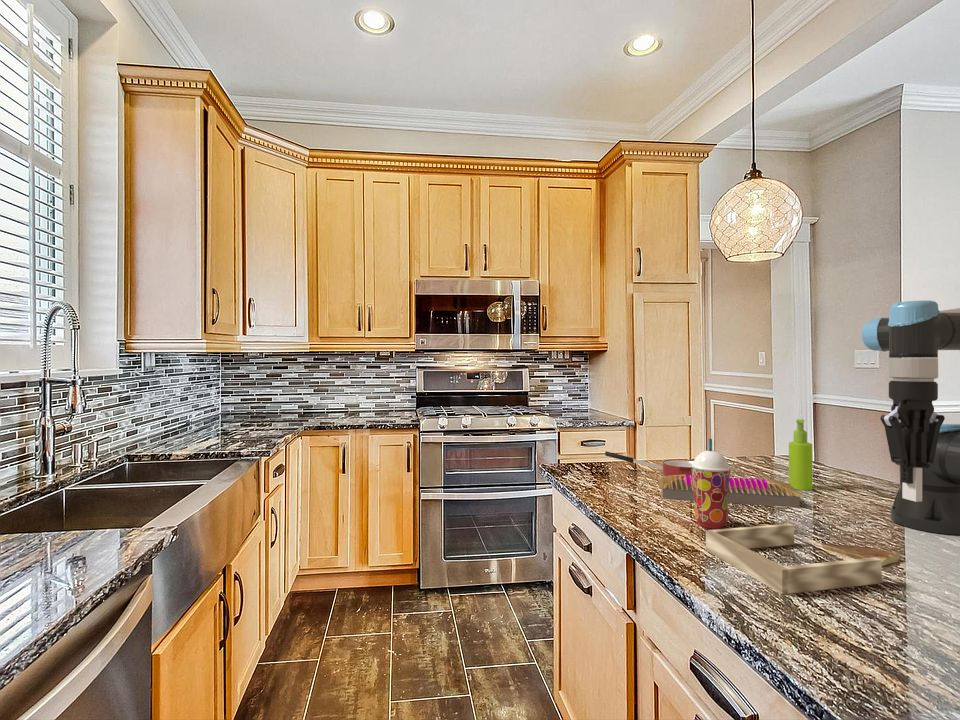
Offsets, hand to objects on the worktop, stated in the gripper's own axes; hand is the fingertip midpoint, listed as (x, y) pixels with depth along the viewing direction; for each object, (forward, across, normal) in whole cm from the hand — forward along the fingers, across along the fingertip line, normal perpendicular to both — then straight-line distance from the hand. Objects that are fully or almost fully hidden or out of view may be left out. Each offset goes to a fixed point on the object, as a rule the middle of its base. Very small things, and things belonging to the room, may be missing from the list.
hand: (912, 499), depth 104 cm
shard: (+11, +12, 0) cm, 16 cm away
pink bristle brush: (+11, +8, -45) cm, 47 cm away
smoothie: (+11, +28, -24) cm, 38 cm away
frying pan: (+11, +13, -76) cm, 78 cm away
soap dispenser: (+11, -20, -49) cm, 54 cm away
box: (+11, +28, 0) cm, 30 cm away
